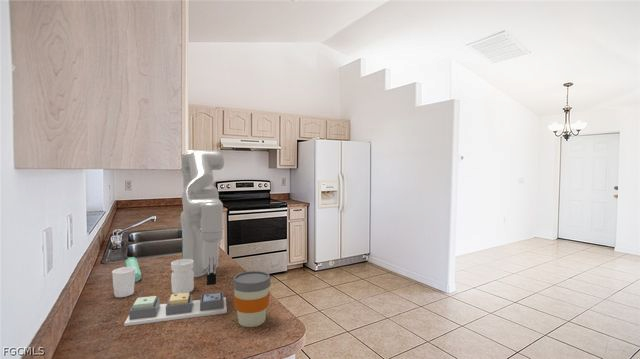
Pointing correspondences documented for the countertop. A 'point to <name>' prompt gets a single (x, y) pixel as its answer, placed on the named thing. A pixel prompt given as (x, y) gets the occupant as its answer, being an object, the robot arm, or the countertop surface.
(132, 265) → the container
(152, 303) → the button
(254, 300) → the reusable coffee cup
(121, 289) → the white cup
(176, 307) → the button panel
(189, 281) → the vase
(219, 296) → the button
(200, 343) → the countertop surface
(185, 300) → the button
